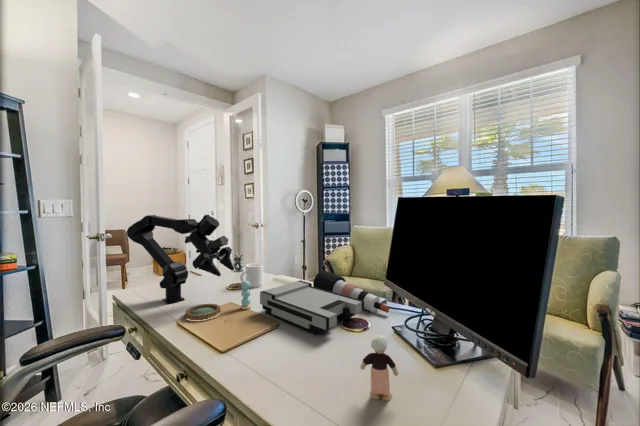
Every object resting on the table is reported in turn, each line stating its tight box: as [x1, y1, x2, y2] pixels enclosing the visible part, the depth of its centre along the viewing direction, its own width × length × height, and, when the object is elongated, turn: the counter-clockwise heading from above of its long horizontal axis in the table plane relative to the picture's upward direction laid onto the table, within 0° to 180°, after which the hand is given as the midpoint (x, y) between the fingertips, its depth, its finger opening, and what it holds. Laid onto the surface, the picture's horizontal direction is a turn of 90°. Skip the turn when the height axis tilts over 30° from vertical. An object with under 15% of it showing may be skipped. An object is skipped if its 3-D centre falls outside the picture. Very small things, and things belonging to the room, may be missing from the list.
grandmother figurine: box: [359, 334, 399, 402], centre depth 58 cm, size 8×4×13 cm, turn 87°
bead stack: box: [240, 280, 252, 310], centre depth 106 cm, size 4×4×11 cm
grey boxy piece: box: [259, 279, 365, 336], centre depth 99 cm, size 21×32×8 cm, turn 49°
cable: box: [312, 269, 390, 314], centre depth 111 cm, size 10×34×10 cm, turn 45°
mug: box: [239, 262, 264, 289], centre depth 134 cm, size 12×8×10 cm
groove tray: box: [184, 303, 222, 320], centre depth 99 cm, size 12×12×2 cm
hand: (226, 272), depth 108 cm, fingers open, 9 cm apart
